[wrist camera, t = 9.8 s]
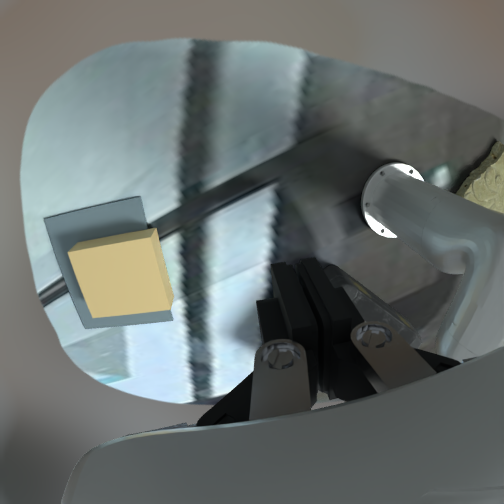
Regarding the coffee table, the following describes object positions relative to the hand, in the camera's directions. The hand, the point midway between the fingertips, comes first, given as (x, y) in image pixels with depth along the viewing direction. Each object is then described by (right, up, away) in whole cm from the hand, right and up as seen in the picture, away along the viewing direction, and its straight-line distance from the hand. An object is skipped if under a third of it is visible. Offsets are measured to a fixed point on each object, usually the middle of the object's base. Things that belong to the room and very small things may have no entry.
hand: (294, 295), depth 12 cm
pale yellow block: (-15, -1, +34) cm, 38 cm away
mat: (-26, -1, +37) cm, 45 cm away
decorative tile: (+47, +12, +38) cm, 62 cm away
